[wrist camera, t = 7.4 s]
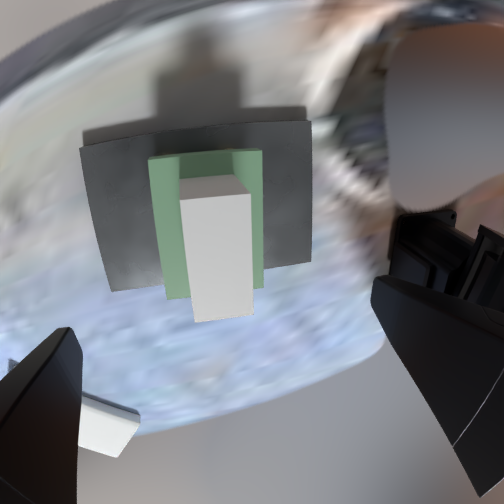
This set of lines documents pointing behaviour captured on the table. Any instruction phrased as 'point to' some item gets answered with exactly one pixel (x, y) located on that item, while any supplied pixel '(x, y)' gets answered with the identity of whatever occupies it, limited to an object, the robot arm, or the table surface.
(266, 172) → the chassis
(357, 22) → the table surface
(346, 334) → the table surface
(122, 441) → the external hard drive
